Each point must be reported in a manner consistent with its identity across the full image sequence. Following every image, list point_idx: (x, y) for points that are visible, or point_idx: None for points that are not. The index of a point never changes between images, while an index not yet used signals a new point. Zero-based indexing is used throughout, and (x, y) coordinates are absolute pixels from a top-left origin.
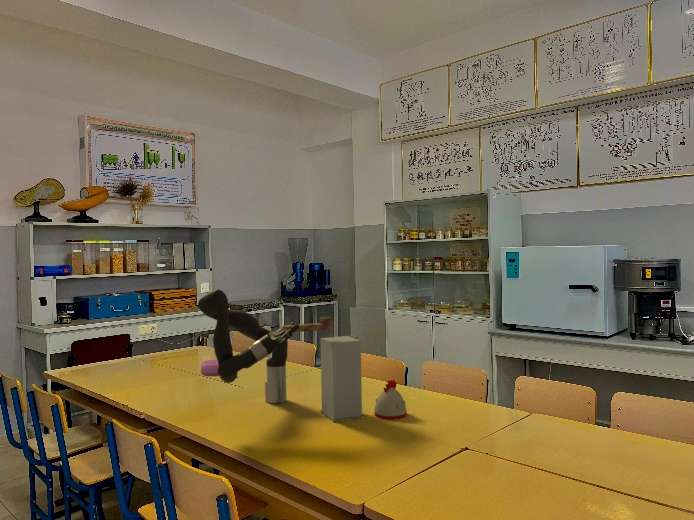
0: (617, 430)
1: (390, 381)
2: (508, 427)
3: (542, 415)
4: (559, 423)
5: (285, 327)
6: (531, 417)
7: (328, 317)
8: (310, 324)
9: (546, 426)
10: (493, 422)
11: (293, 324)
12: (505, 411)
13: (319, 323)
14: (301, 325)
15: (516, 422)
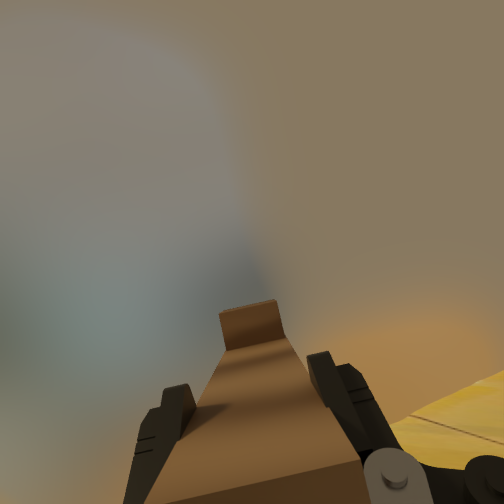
0: (489, 378)
1: None
2: (495, 438)
3: (422, 409)
4: (463, 402)
5: (348, 482)
6: (432, 416)
7: (248, 305)
8: (264, 358)
9: (481, 410)
10: (464, 448)
11: (190, 411)
12: (396, 432)
13: (245, 348)
14: (296, 373)
15: (462, 429)
